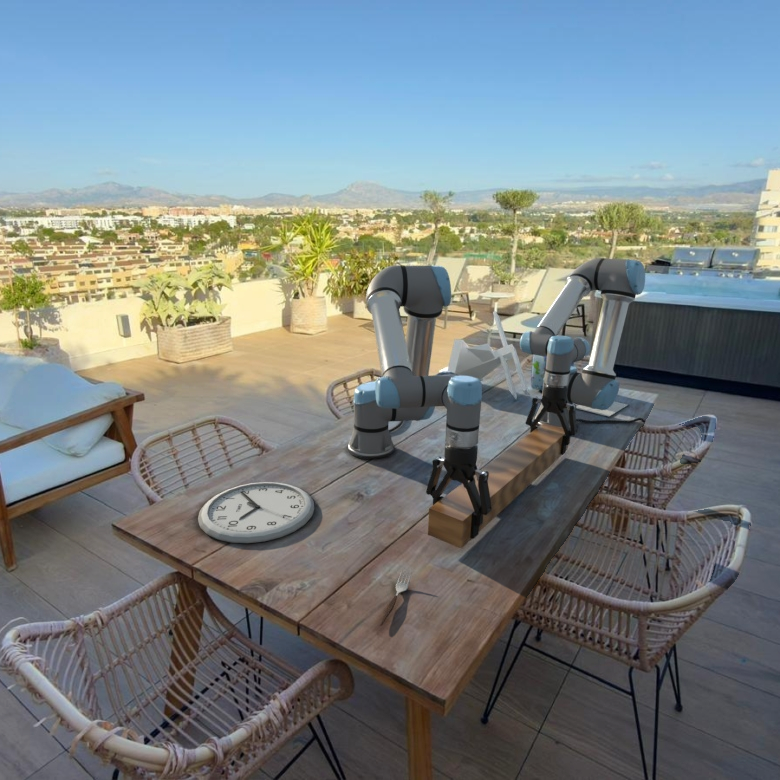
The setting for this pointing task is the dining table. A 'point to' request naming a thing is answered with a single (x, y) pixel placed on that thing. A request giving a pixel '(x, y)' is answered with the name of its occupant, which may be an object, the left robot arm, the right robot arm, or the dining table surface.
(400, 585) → the fork
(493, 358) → the white plastic object
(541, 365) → the lunch box
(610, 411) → the invitation card
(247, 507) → the wall clock
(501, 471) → the wide beam
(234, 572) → the dining table surface
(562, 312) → the right robot arm
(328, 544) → the dining table surface
